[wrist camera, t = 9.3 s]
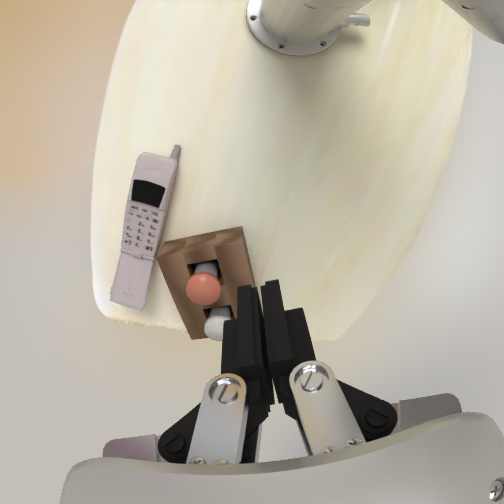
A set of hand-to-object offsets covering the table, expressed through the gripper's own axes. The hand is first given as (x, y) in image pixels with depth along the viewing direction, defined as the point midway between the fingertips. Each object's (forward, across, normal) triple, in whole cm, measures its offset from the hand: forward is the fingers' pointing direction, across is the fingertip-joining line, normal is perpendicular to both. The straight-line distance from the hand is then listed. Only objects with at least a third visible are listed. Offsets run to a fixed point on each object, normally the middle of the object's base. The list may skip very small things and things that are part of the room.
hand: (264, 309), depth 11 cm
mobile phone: (+28, +16, +5) cm, 33 cm away
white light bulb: (+27, +9, +21) cm, 35 cm away
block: (+28, +9, +17) cm, 33 cm away
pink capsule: (+26, +9, +13) cm, 30 cm away
